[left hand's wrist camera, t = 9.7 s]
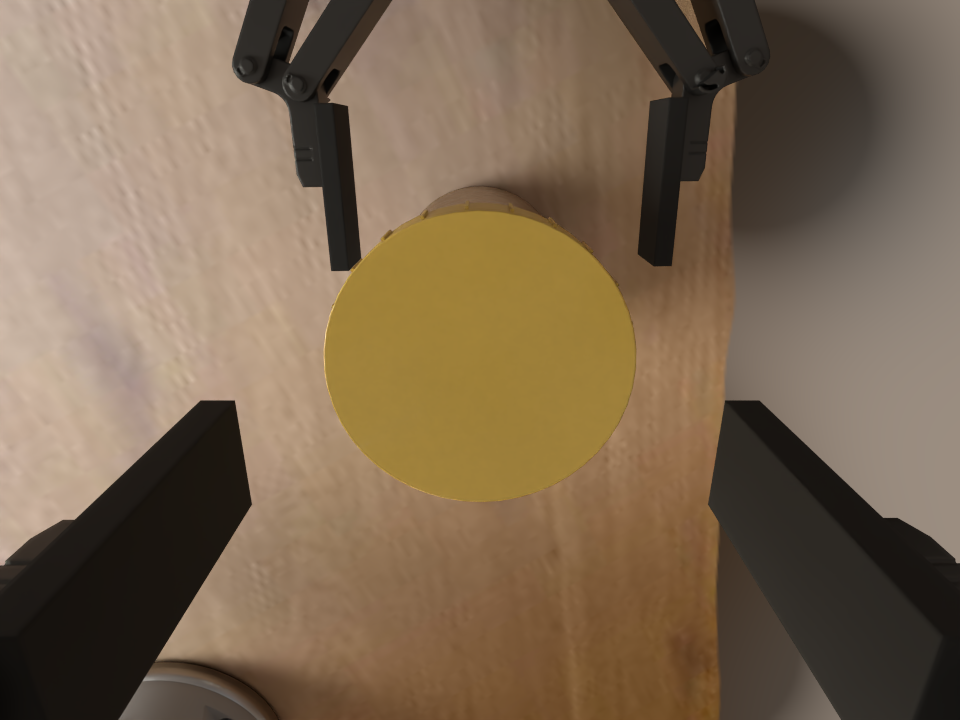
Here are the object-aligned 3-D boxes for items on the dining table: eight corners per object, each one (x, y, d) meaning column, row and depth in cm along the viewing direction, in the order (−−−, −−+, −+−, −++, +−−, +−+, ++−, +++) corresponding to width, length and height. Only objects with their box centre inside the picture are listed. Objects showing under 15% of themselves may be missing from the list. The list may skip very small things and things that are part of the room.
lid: (635, 198, 18) (654, 205, 16) (613, 470, 22) (626, 503, 20) (322, 201, 18) (304, 209, 16) (350, 473, 22) (338, 505, 20)
